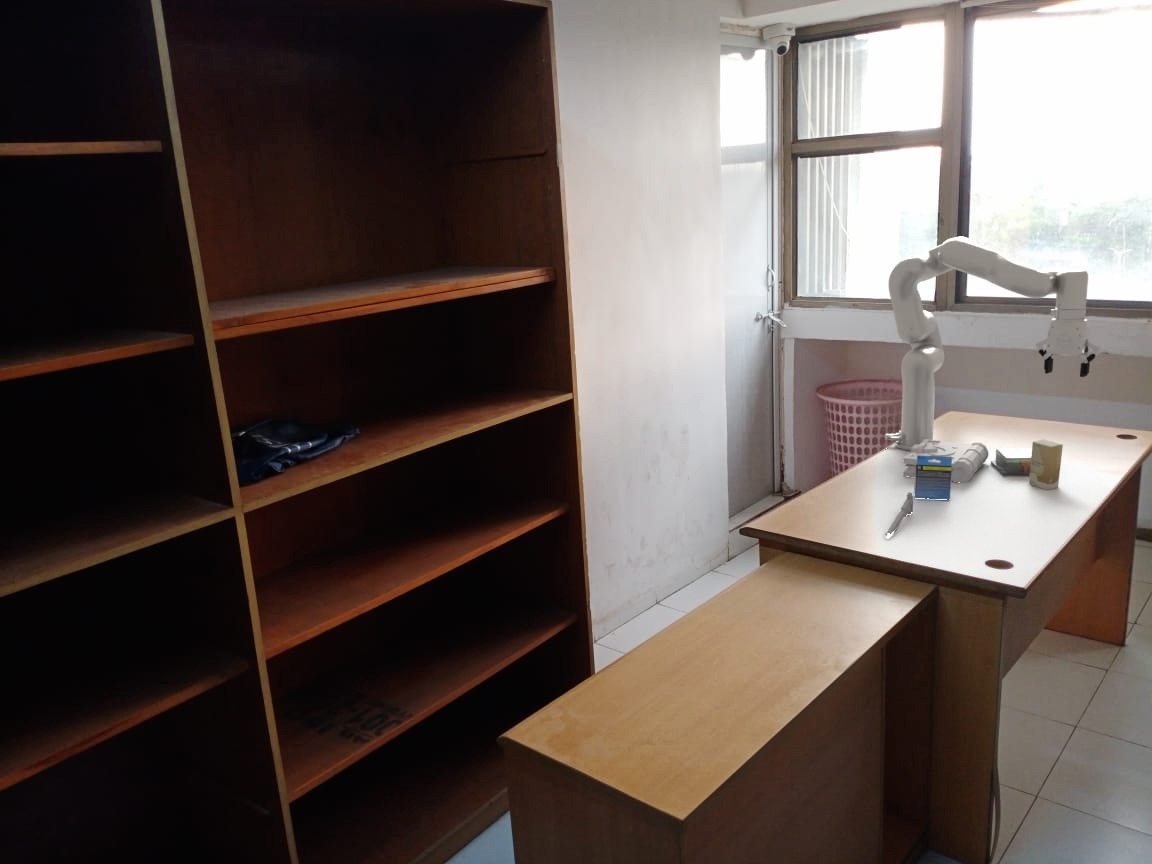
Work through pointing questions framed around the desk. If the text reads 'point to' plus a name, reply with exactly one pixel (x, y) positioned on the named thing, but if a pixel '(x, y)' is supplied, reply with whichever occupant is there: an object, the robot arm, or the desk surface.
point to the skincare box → (1045, 464)
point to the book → (963, 456)
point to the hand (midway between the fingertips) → (1065, 374)
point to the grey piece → (1013, 461)
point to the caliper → (902, 512)
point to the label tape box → (933, 477)
